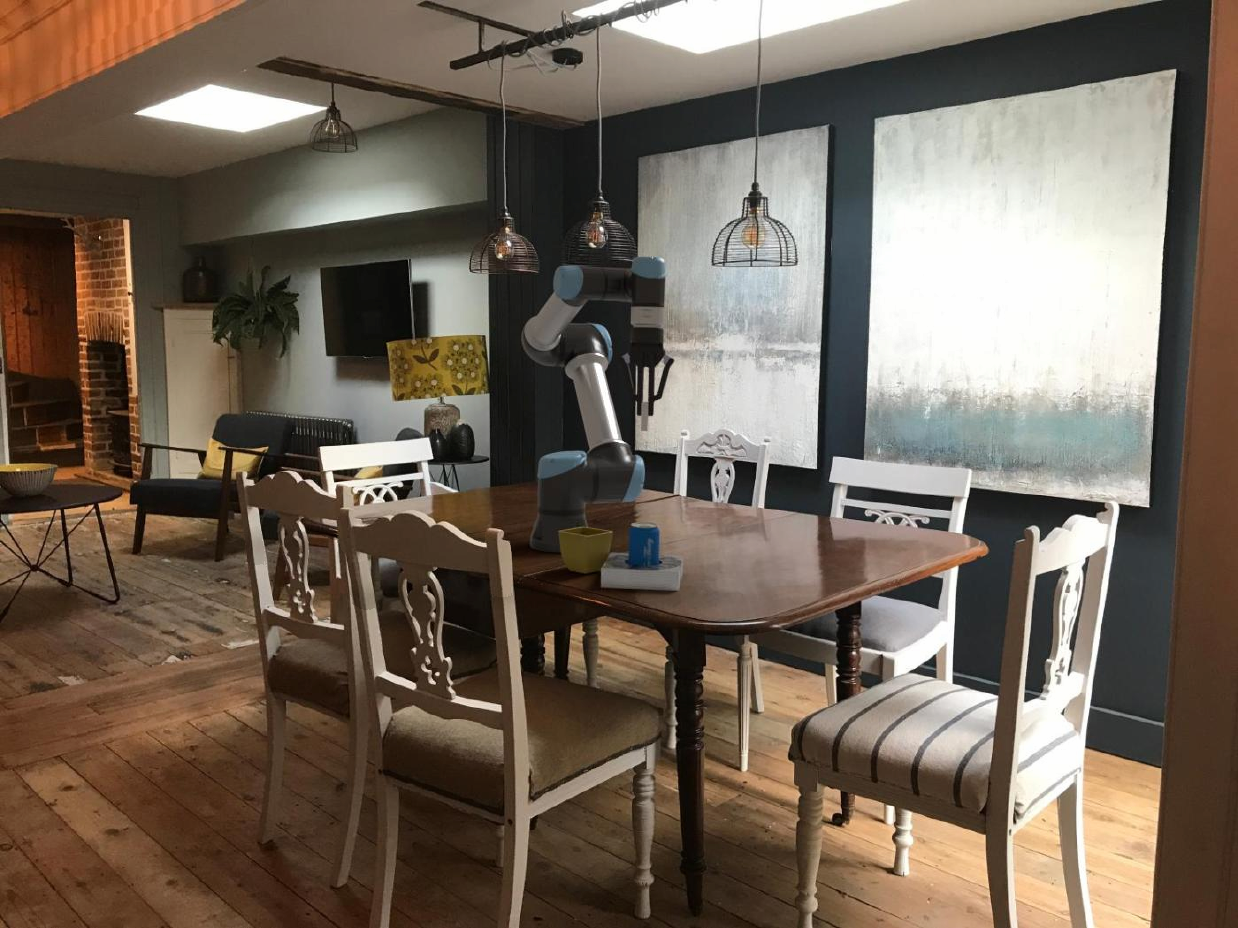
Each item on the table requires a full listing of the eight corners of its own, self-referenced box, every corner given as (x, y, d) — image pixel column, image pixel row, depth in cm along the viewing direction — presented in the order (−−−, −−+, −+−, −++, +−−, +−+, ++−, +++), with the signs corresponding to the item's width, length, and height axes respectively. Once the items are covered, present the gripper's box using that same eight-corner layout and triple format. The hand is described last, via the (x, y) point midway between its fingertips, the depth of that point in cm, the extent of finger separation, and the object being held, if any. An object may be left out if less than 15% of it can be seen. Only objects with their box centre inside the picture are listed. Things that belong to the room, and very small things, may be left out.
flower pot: (583, 564, 226) (583, 525, 225) (612, 570, 221) (613, 530, 220) (556, 571, 220) (557, 530, 219) (586, 577, 214) (587, 536, 213)
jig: (600, 587, 206) (601, 568, 205) (610, 570, 221) (610, 552, 221) (678, 590, 204) (679, 571, 203) (682, 573, 220) (682, 555, 219)
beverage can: (632, 584, 209) (633, 527, 207) (624, 577, 215) (625, 522, 213) (662, 583, 210) (663, 526, 209) (653, 576, 217) (654, 521, 215)
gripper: (616, 325, 223) (614, 431, 226) (675, 326, 221) (672, 432, 224) (620, 326, 230) (618, 428, 233) (677, 327, 229) (674, 430, 232)
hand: (644, 430), depth 229 cm, fingers closed
